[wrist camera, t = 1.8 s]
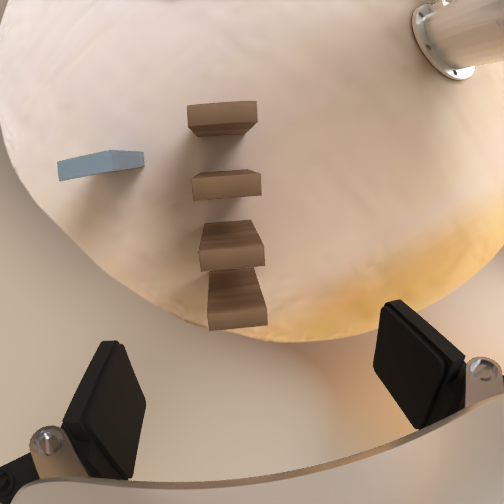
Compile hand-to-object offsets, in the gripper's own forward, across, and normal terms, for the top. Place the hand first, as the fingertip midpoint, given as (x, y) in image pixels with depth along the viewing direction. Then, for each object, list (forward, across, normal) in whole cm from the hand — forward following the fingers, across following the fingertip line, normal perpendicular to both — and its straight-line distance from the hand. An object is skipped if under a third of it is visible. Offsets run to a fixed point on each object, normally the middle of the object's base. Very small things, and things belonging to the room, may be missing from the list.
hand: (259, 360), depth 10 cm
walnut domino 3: (+24, 0, +1) cm, 24 cm away
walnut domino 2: (+24, 0, -5) cm, 24 cm away
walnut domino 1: (+24, 0, -10) cm, 26 cm away
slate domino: (+24, +11, -8) cm, 27 cm away
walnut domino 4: (+24, 0, +6) cm, 24 cm away
